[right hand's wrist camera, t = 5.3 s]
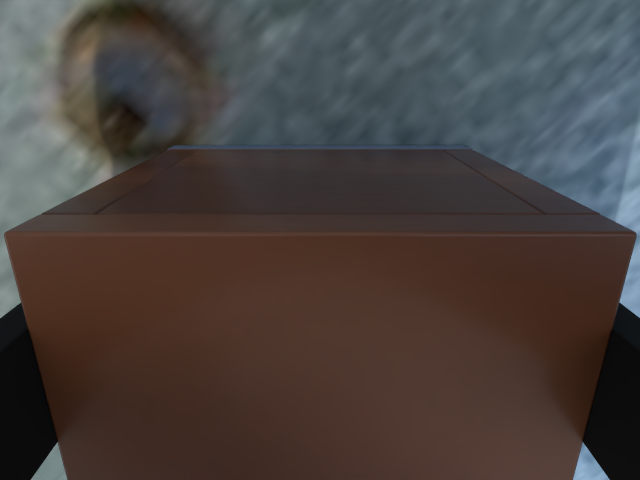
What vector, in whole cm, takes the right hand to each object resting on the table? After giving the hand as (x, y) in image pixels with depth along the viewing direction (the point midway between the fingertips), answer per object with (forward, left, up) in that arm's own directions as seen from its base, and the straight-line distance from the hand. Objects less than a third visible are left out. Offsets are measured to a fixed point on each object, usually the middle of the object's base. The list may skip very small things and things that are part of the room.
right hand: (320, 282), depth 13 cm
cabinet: (+3, +4, -5) cm, 7 cm away
